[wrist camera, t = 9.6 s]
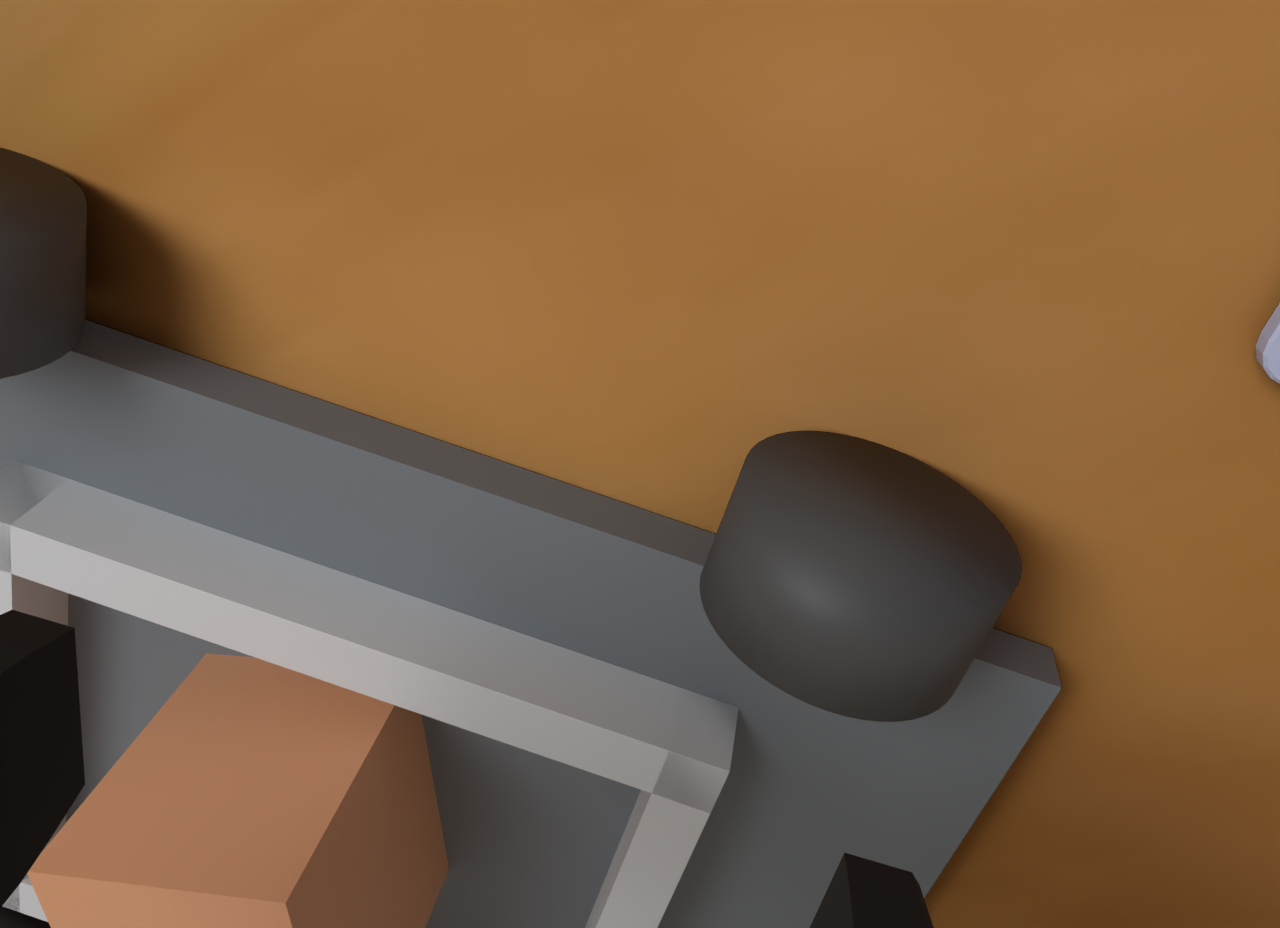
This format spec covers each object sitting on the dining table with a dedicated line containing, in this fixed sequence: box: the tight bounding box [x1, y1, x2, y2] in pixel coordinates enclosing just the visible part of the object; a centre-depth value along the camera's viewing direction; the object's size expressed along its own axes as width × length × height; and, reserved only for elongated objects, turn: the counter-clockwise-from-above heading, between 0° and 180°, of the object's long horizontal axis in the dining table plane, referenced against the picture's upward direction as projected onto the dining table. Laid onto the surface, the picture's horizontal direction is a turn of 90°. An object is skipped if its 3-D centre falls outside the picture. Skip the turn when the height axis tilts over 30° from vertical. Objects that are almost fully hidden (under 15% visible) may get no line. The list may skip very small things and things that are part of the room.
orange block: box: [27, 653, 449, 928], centre depth 19 cm, size 4×5×5 cm
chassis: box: [0, 148, 1062, 928], centre depth 20 cm, size 22×20×4 cm
